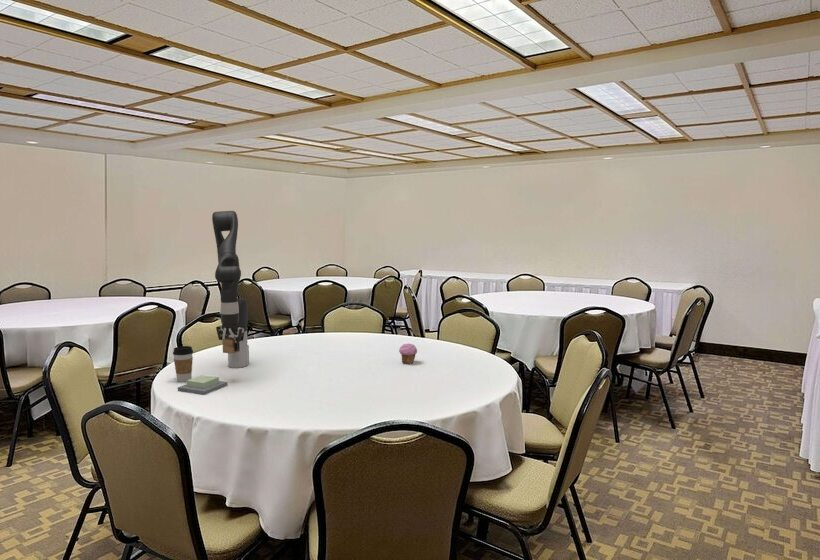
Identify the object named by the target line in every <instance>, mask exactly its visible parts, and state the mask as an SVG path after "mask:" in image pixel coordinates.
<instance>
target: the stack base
mask: <svg viewBox="0 0 820 560" xmlns="http://www.w3.org/2000/svg"><path fill="white" fill-rule="evenodd" d="M228 385H229V384H228V382H227V381H222V380H219V376H213V375H212V376H211V375H204V374H203V375H202V374H201V375H198V376H195V377H191V379H190V380H187V382H186V384H183V385H180V386H178V387H177V392H183V393H191V394H196V395H203V396H205V395H208V394H210V393H212V392H215V391H217V390H220V389H222V387H223V388H225V387H228Z"/></svg>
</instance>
